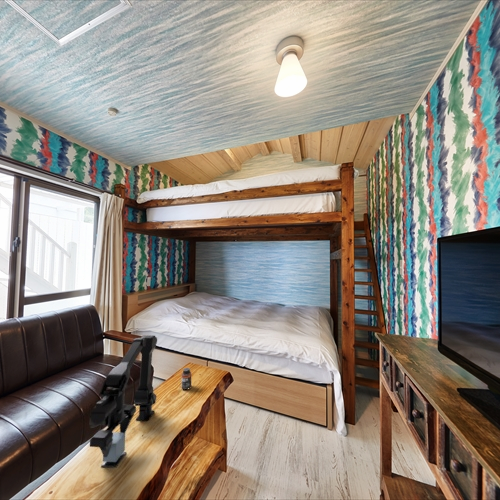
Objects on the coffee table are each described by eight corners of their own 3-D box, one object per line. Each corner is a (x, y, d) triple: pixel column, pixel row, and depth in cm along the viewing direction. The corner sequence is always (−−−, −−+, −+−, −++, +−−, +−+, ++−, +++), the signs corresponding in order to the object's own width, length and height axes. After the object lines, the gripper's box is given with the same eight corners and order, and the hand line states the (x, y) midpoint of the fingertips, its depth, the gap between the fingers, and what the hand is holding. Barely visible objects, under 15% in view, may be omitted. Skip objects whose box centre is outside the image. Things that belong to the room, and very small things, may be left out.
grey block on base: (112, 449, 85) (113, 432, 86) (124, 450, 85) (125, 432, 86) (102, 461, 80) (103, 443, 81) (115, 462, 80) (116, 443, 80)
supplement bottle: (187, 384, 135) (188, 365, 136) (193, 387, 131) (193, 368, 132) (179, 388, 130) (179, 369, 131) (184, 391, 126) (185, 372, 127)
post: (112, 452, 86) (112, 433, 86) (126, 453, 85) (127, 433, 86) (100, 466, 80) (101, 445, 80) (116, 467, 79) (116, 446, 80)
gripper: (113, 390, 94) (111, 427, 93) (76, 421, 75) (73, 468, 74) (137, 391, 93) (136, 428, 92) (106, 422, 74) (104, 469, 73)
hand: (114, 446), depth 83 cm, fingers open, 9 cm apart
